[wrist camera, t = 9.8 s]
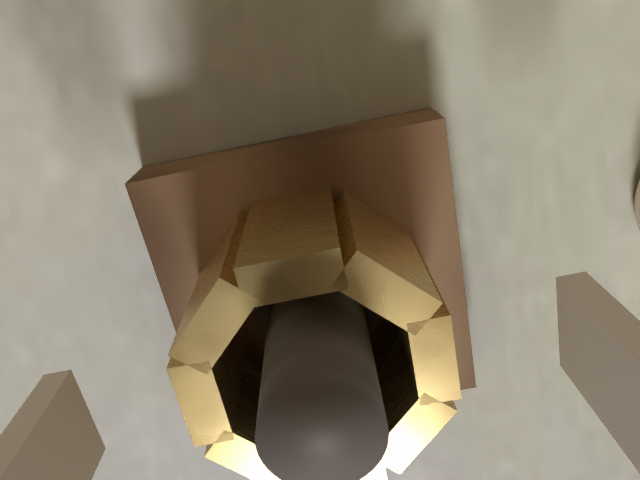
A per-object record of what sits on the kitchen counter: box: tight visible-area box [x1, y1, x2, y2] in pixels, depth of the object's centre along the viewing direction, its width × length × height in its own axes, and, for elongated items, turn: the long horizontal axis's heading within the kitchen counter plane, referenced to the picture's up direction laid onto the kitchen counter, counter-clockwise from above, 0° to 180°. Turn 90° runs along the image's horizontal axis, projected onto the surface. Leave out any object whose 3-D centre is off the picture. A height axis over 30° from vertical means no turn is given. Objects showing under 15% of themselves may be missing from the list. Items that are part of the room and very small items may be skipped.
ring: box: [166, 186, 462, 480], centre depth 17 cm, size 7×7×5 cm
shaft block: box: [125, 108, 476, 480], centre depth 17 cm, size 10×10×9 cm
